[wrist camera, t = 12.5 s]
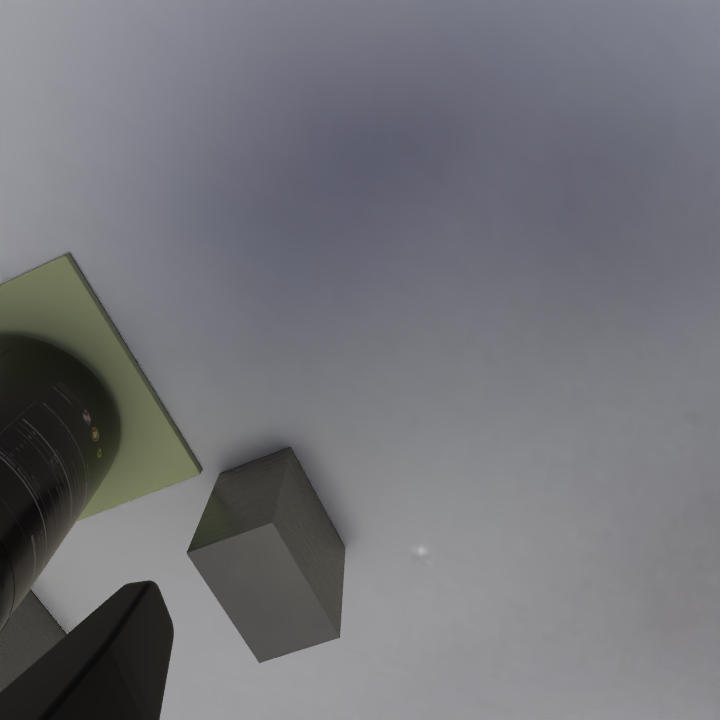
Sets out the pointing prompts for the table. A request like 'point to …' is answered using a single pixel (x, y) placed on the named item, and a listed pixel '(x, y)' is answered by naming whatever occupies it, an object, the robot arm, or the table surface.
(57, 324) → the mat
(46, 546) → the supplement bottle
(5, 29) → the table surface
